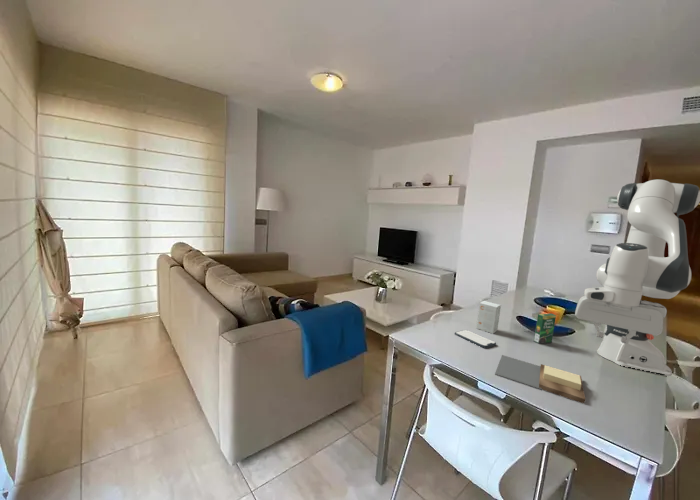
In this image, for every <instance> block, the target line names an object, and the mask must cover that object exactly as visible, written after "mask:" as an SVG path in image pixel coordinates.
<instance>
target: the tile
mask: <svg viewBox="0 0 700 500" xmlns="http://www.w3.org/2000/svg"><path fill="white" fill-rule="evenodd" d="M544 365H545V364H544ZM580 376H581V375H579V374H576V373H574V372H573V373H572V372H570V371H566V370H564V369H563V370H562V369H559V368H555V367H551V366H548V365H545V367H544V376H543V379H546V380H549V381H552V382H555V383H558V384H561V385H565V386H568V387H571V388H574V389H577V390H580V389H581V380H580Z"/></svg>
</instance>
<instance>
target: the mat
mask: <svg viewBox="0 0 700 500" xmlns="http://www.w3.org/2000/svg"><path fill="white" fill-rule="evenodd" d="M500 356H501V357H500V360H499V362H498V365H497V368H496V370H495V372H494V375H495V376H498V377H500V378H504V379H507V380H510V381H513V382H515V383H518V384H519V383H520V384H521V385H525V386H527V387H531V388H533V389H537V390H539V391H540V390H541V391H543V390H542V388H539V379H540V367H541V365H537V364H534V363H531V362H528V361H524V360H520V359H517V358H514V357H511V356H507V355H504V354H502V355H500Z"/></svg>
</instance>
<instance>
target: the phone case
mask: <svg viewBox="0 0 700 500" xmlns="http://www.w3.org/2000/svg"><path fill="white" fill-rule="evenodd" d="M454 335H455V336H457V337H459V338H461V339H464V340H465V341H467V342H469V341H470V342H469V343H472V344H473V343H474V344H473V345H475V344H476V345H475V346H477V347H479V346H480V348H482V349H485V350H486V349H491V348H494V347H496V345H497V342H496V341H494V340H492V339H489V338H487V337H484V336H482V335H480V334H477V333H475V332H472V331H470V330H468V329H462V330H459V331H455V332H454Z"/></svg>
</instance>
